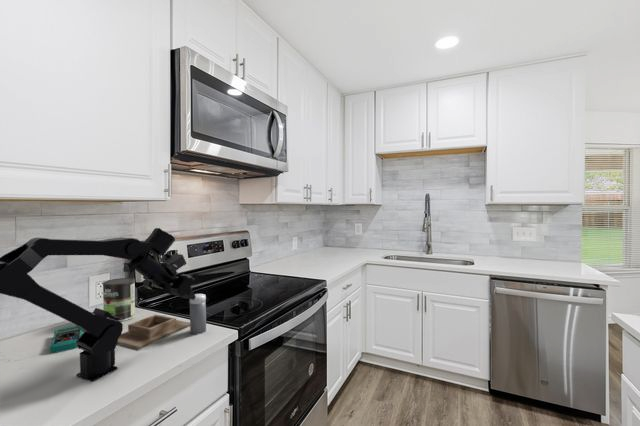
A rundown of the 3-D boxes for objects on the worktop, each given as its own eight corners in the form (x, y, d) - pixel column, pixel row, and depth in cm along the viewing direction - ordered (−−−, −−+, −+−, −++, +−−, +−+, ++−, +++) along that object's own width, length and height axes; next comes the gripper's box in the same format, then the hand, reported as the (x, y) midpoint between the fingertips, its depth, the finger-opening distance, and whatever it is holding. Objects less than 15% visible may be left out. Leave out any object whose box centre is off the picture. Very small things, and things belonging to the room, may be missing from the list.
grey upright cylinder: (198, 335, 102) (197, 298, 102) (186, 332, 104) (186, 297, 103) (209, 329, 106) (208, 294, 106) (198, 327, 108) (197, 293, 108)
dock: (139, 349, 92) (139, 336, 92) (108, 341, 97) (108, 329, 97) (191, 325, 110) (191, 314, 110) (163, 319, 116) (163, 309, 116)
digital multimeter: (49, 355, 89) (49, 345, 89) (54, 337, 101) (54, 328, 101) (81, 348, 94) (81, 339, 94) (83, 332, 106) (82, 323, 106)
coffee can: (119, 323, 112) (118, 285, 111) (96, 321, 114) (95, 283, 114) (142, 314, 122) (141, 278, 121) (120, 312, 124) (119, 277, 124)
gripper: (188, 248, 91) (218, 278, 101) (151, 244, 101) (182, 272, 110) (163, 281, 84) (198, 309, 94) (126, 273, 94) (162, 300, 104)
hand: (185, 296), depth 101 cm, fingers open, 9 cm apart
